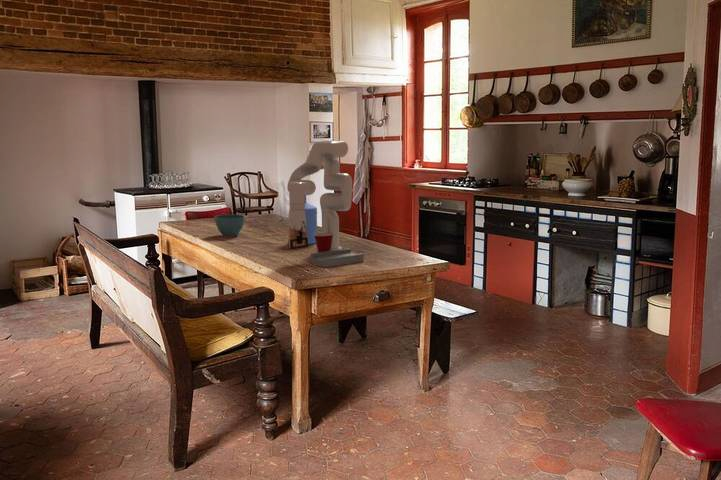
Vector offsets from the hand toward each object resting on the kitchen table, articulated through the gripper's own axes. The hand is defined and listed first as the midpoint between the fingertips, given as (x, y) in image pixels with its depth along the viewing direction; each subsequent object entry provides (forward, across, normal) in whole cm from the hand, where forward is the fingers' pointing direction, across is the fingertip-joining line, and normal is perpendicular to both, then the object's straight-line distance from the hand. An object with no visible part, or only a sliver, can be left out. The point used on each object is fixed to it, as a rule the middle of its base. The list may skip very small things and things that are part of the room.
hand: (298, 242), depth 330 cm
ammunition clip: (+3, 0, 0) cm, 3 cm away
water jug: (+12, -46, +34) cm, 59 cm away
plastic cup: (+11, -6, +20) cm, 24 cm away
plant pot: (+12, -95, +11) cm, 97 cm away
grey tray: (+10, +13, +15) cm, 22 cm away
